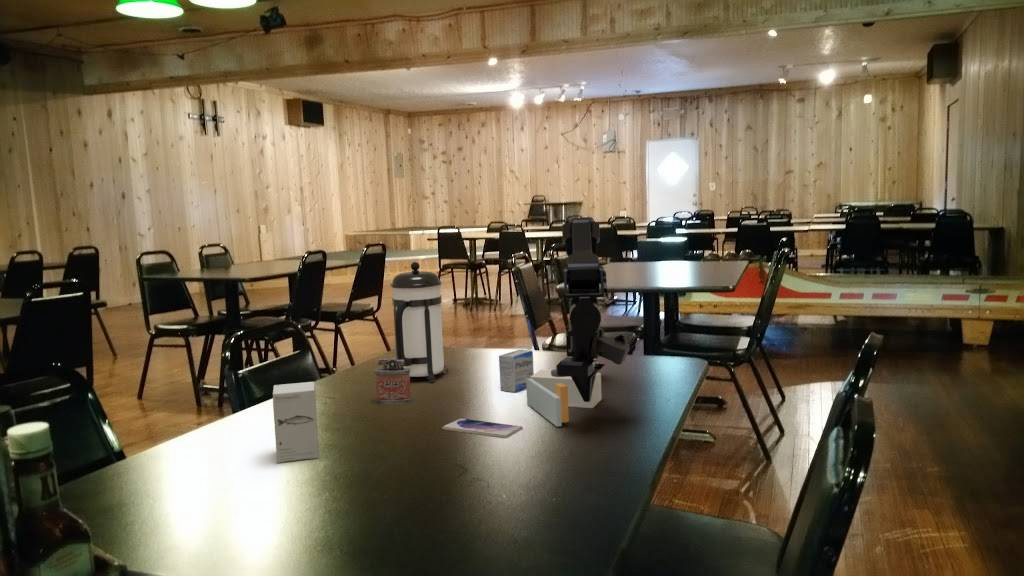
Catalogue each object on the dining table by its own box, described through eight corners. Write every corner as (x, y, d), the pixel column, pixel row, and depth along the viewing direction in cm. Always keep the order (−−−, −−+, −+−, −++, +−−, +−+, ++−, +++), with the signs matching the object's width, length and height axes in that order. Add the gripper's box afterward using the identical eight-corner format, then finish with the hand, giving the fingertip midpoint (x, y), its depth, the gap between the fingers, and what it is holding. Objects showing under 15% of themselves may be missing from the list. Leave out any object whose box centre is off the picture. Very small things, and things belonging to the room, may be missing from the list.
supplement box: (276, 464, 127) (270, 393, 126) (278, 451, 134) (272, 384, 133) (319, 458, 129) (314, 389, 128) (319, 446, 136) (314, 380, 135)
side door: (537, 401, 159) (536, 367, 158) (568, 424, 142) (567, 386, 141) (526, 403, 159) (525, 368, 158) (556, 426, 141) (555, 387, 140)
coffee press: (381, 376, 191) (374, 262, 188) (439, 368, 198) (433, 258, 194) (400, 390, 175) (392, 266, 172) (461, 381, 182) (456, 262, 179)
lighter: (413, 399, 167) (410, 356, 166) (409, 403, 163) (407, 359, 162) (379, 399, 168) (376, 357, 166) (374, 404, 164) (372, 360, 163)
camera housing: (541, 395, 165) (540, 366, 165) (601, 399, 160) (600, 369, 159) (530, 403, 159) (529, 373, 158) (592, 408, 154) (591, 376, 153)
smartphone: (460, 417, 150) (524, 426, 142) (460, 421, 150) (524, 430, 142) (440, 426, 143) (505, 436, 136) (440, 430, 144) (505, 440, 136)
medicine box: (515, 393, 169) (513, 356, 168) (499, 390, 171) (498, 354, 170) (534, 385, 175) (533, 350, 174) (519, 383, 178) (518, 348, 177)
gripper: (612, 334, 131) (614, 418, 133) (636, 317, 149) (637, 392, 150) (554, 332, 136) (557, 413, 138) (583, 316, 153) (586, 388, 155)
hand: (587, 401), depth 145 cm, fingers closed
